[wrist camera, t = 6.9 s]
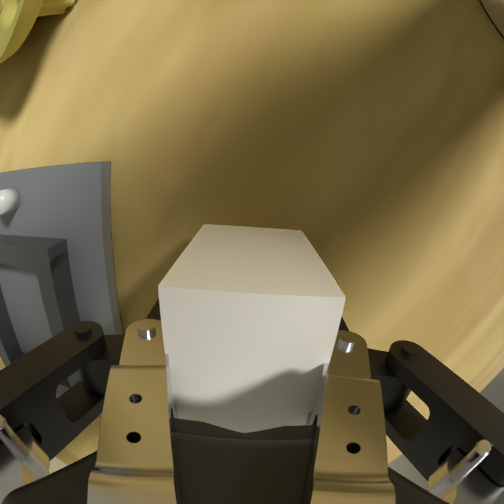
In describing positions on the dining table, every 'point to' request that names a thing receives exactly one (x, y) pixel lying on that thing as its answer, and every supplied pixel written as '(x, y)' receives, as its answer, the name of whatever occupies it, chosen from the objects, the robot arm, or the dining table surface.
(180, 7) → the dining table surface
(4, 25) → the plastic component
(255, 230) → the block
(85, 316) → the housing plate
